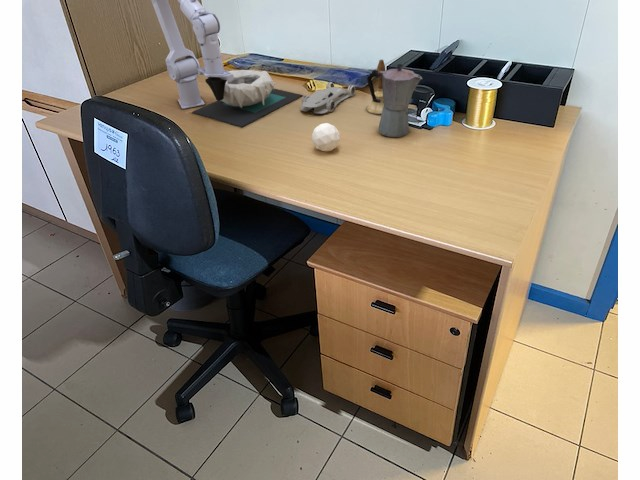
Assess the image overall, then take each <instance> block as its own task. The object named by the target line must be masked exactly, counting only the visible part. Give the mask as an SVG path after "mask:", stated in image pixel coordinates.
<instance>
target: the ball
mask: <svg viewBox="0 0 640 480" xmlns="http://www.w3.org/2000/svg"><path fill="white" fill-rule="evenodd" d="M311 139H312V143H313V145H314V147H315V148H316V149H317V150H320V151H322V152H331V151H333V150H334V149H335V148H337V147H338V145H339V142H340V141H341V135H340V131H339V130H338V129H337V127H336V126H335V125H333V124H331V123H329V122H325V123H320V124H318V125H317V126H316V127H314V129H313V132H312V134H311Z"/></svg>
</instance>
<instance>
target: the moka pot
mask: <svg viewBox="0 0 640 480" xmlns="http://www.w3.org/2000/svg"><path fill="white" fill-rule="evenodd" d="M403 66H404V65H403V64H402V63H399V64H396V67H397V68H389V69H387V70H385V71H377V69H373V70H372V71H371V72H370V73H369V75H367V76H366V80H367V85H368V87H369V92H370V94H371V100H372V99H373V102H377V103H380V102H381V100H380V99H376V96H375V94H374V93H375V92H376V91H375V88H374V85H373V84H374V83H373V80H372V79H373V78H374V77H375V78H377V79H378V78H382V88H383V99H384V101H383V103H384V107H383V111H382V114H380V120H379V123H378V124H379V125H378V132H379V133H380V134H381V135H383V136H386V137H389V138H401V137H404V136H406V135H407V134H408V133H409V106H410V105H409V104H410V103H411V100H412V96H413V93H414V91H415V90H416V88H417V87H418V85H419V83H420V82H421V80H423V77H422V76H421V75H420V74H417V73H415V72H414V71H413V70H409V69H405V68H403Z"/></svg>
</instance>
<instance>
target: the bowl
mask: <svg viewBox="0 0 640 480" xmlns="http://www.w3.org/2000/svg"><path fill="white" fill-rule="evenodd" d="M228 72H229V73H232V74H233V77H234V80H232V81H230V82H228V81H226V84H225V88H224V99H222V100H220V101H223V102H225V103H226V104H229V105H232V106H240V107H241V108H242V107H243V106H251V105H254V104H257V103H259V102H261V101H262V103H263V105H264V100H265V99H266V98H267V97H269V94H270V93H271V91H272V90H273V91H274V89H275V87H276V85H275V82H274V80H273V78H272V76H271V75H270V74H269V73H268V72H267V70H261V71H260V70H255V69H254V70H253V69H239V70H229V71H228Z"/></svg>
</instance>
